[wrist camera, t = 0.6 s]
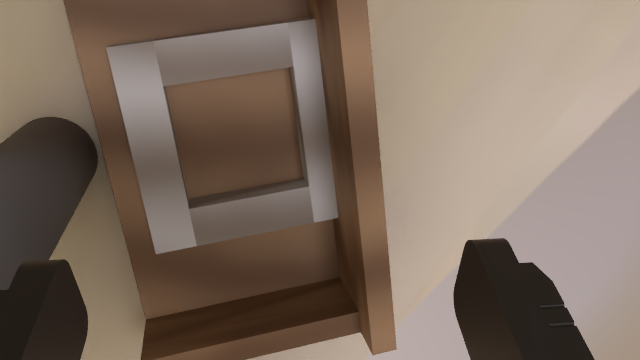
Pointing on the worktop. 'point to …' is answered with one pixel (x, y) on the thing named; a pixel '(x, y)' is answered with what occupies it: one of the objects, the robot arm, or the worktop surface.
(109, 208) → the worktop surface
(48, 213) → the tall grey cylinder
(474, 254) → the robot arm
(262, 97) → the bay
